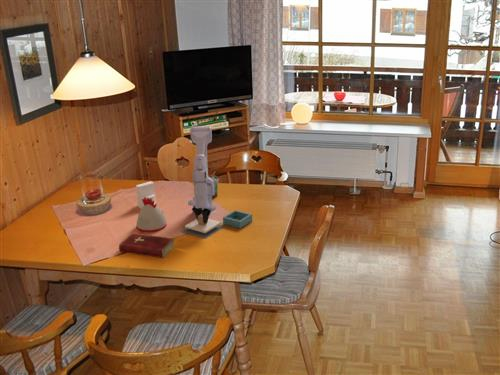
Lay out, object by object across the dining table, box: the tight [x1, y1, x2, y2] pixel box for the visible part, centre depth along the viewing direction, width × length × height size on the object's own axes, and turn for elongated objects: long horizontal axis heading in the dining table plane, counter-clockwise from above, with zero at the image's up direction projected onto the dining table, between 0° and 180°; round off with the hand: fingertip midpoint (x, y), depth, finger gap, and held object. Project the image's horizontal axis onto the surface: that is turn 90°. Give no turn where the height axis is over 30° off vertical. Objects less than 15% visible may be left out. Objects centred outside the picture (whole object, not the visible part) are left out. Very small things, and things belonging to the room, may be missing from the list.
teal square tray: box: [222, 209, 253, 230], centre depth 270 cm, size 10×10×4 cm
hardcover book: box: [118, 232, 176, 259], centre depth 248 cm, size 12×21×4 cm, turn 72°
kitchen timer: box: [136, 197, 168, 234], centre depth 266 cm, size 14×14×15 cm
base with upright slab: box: [136, 180, 157, 210], centre depth 291 cm, size 9×9×12 cm
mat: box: [180, 224, 227, 240], centre depth 265 cm, size 15×15×1 cm
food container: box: [209, 174, 220, 200], centre depth 302 cm, size 12×6×10 cm, turn 168°
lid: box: [184, 214, 222, 233], centre depth 263 cm, size 12×12×5 cm
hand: (202, 222), depth 263 cm, fingers closed on lid, 3 cm apart
